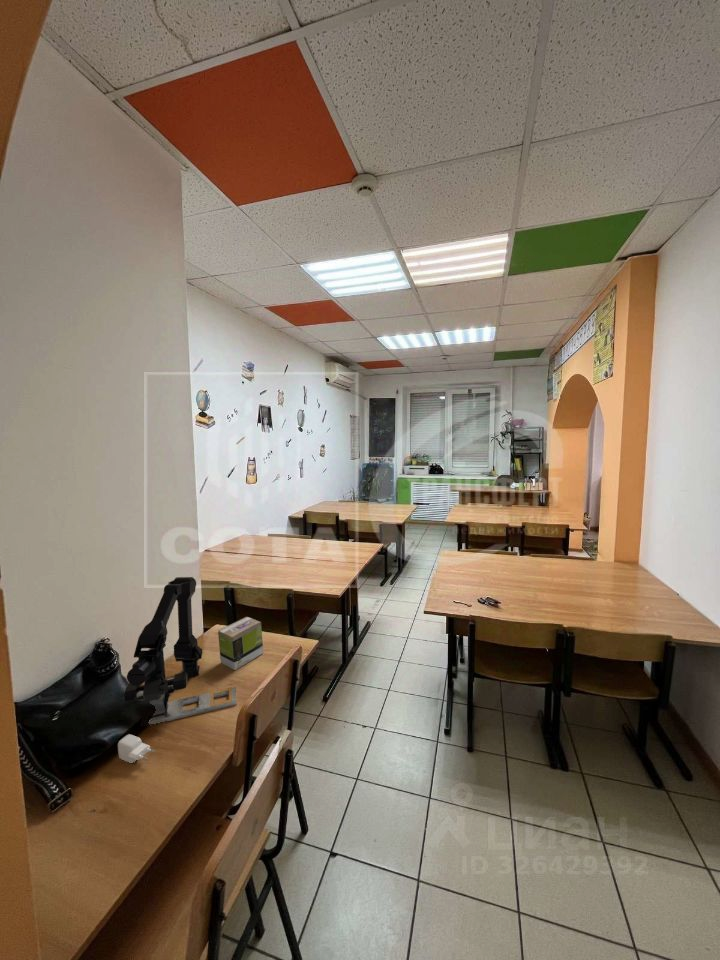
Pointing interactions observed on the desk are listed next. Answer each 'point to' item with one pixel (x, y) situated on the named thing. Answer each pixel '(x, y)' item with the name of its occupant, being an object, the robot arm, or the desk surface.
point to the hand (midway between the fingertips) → (158, 709)
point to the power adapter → (132, 748)
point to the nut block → (159, 706)
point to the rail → (204, 706)
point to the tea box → (240, 642)
